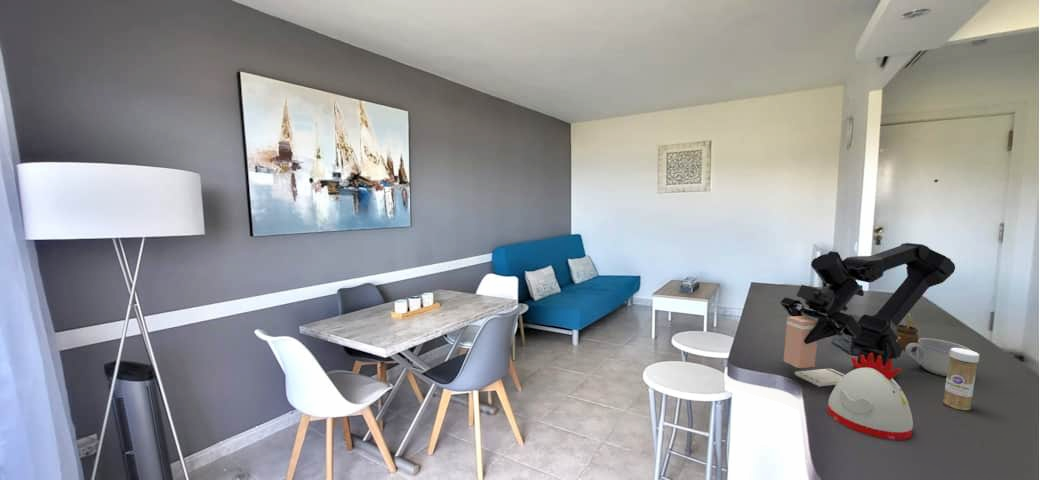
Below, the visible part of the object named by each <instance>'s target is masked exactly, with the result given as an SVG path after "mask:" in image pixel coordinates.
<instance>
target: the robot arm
mask: <svg viewBox="0 0 1040 480" xmlns="http://www.w3.org/2000/svg"><path fill="white" fill-rule="evenodd" d="M903 265H905V266H906V274H907V277H906V278H905V279H904V280H903V281H902V283H901V284H900V285H899V286H898V288H897V289H896V290H895V291H894V292H893V293H892V295H891V296H890V297H889V298H888V300H886V302H885V303H884V304H883V305H882V306H881V308H880V309H879V310H877V312H876V314H874V315H869V314H865V313H864V314H863V315H862V316H860V317H861V318H860V320H859V321H858V322H857V321H856V320H855V319H854V317H853V316H851V315H852V314H851V315H848V314H849V313H845V312H846V311H848V309H849V308H848V307H847V305H848V303H849V302H850V301H851V299H853V298H854V296H860V297H863V296H864V295H865V292H864V289H863V285H862V284H859V283H858V281H860V282H863V283H873V282H875V281H877V280H879V279H880V278H882V277H883V276H884V273H885V272H886V271H888V270H891V269H894V268H897V267H900V266H903ZM810 266H811V268H812V269H813V270H814V272H815V274H817V277H819V279H820V281H822V282H823V283H824V284H826V285H827V286H826V287H822V288H820V289H819V288H816V287H812V286H809V285H805V284H801V285H800V287H799V289H798V291H797V293H796V296H795V297H798V298H801V299H804V303H805V304H806V306H808V307H805V306H804V305H803V303H802V302H801V301H800V300H799V299H796V298H792V297H788V296H787V297H784V298H783V299H782V300H781V301H780V302H779V304H780V305H781V306H782V307H783V309H784V310H785V311H786V312H787V314H788V315H789V317H793V316H805V317H808V318H812V319H815V320H816V319H817V321H818V323H817V325H816V326H815V327H814V328H813V330H812V331H811V332H810V333H809V334H808V336H807V337H806V338H805V340H804V342H805V344H809V343H812V342H815V341H817V342H818V341H820V340H823V339H826V338H831V337H833V336H835V335H839V336H840V335H841V333H840V331H841V330H842V329H843V332H844V334H845V335H847V336H850V337H852V338H853V344H854V347H857V348H860V354H859V355H857V359H856V360H857V362H858V363H859V364H860V365H861V361H860V355H864V357H865V359H866V361H867V359H868V356H869V353H873V356H874V362H875V363H876V360H877V357H878V356H879V355H881V357H882V364H883V366H885V365H886V363H887V362H888V360H891V359H892V360H897V359H898V358H900V357H901V354H902V352H903V350H902V349H901V347H900V346H899V345H898V343H897V342H896V339H897V337H898V335H897V325H900V323H902V322H903V320H904V319H905V318H906V317H907V316H908V314H909V312H910V311H911V309H913V308H914V306H915V305H916V304H917V302H918V301H919V300H920V299H921V298H922V297H923V295H924V294H925V293H926V292H927V290H929V288H931V287H934V286H937V285H941V284H943V283H944V282H945V281H947V279H949V278H950V277H951V276H952V275H953V274H954V273H955V271H956V265H955V263H954V262H953V261H952V260H951V258H949V257H948V256H946V255H944V254H942V253H939V252H937V251H935V250H932V249H931V248H930V247H928V246H927V245H925V244H920V243H912V242H911V243H910V242H905V243H901V244H900V245H899V246H895V247H893V248H890V249H887V250H884V251H881V252H878V253H875V254H872V255H855V256H847V257H846V258H844V259H842V258H841V255H840V254H839V252H838V251H832V250H831V251H828V252H827V253H825V254H821V255H819V256H817V257H815V258H813V259H812V261H811V263H810ZM841 311H842V312H841ZM843 312H844V313H843ZM852 368H853V370H855V367H854V365H853V367H852ZM893 379H896V375H895V376H894V377H893Z"/></svg>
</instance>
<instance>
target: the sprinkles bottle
mask: <svg viewBox="0 0 1040 480" xmlns="http://www.w3.org/2000/svg"><path fill="white" fill-rule="evenodd" d="M971 350H972V349H970V350H967V349H962V348H951V349H950V354H949V356H950V362H949V368H948V374H947V376H946V379H945V386H944V395H943V399H942V402H943V404H944V405H946V406H948V407H950V408H952V409H956V410H958V411H970V410H971V409H972V406H971V405H972V399H973V398H972V397H973V396H974V395H973V394H974V389H975V388H974V387H975V381H976V374H977V373H976V372H977V367H978V366H977V365H978V364H979V362H980V353H978V352H976V351H974V350H972V351H971Z"/></svg>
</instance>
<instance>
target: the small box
mask: <svg viewBox="0 0 1040 480" xmlns="http://www.w3.org/2000/svg"><path fill="white" fill-rule="evenodd" d="M847 314H848V315H851V316H853V317H854V319H855V320H856V321H857V322H858V321H859V320H860V318H861V317H862V316H859V315H857V314H850V313H847ZM840 333H841V335H840V336H839V335H835V336H832V341H831V343H832V344H833V345H834V346H836V347H838V348H839V349H840V350H842V351H844V352H845V353H847V354H848V355H853V356H858V355H859V354H860V348H857V347H854V344H853V338H852V337H850V336H847V335H845V334H844V332H843V329H842V330H841V331H840Z"/></svg>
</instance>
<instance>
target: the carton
mask: <svg viewBox="0 0 1040 480" xmlns="http://www.w3.org/2000/svg"><path fill="white" fill-rule="evenodd" d="M817 323H818V319H817V320H816V319H815V318H812V317H809V316H808V317H805V316H793V317H792V316H787V318H786V329H785V341H784V351H783V362H785V363H787V364H789V365H790V366H793V367H795V368H798V369H803V368H812V367H813V368H815V366H816V358H817V357H816V355H817V346H818V341H815V342H812V343H809V344H805V342H804V340H805V338H806V337H807V336H808V334H809V333H810V332H811V331H812V330H813V328H814V327H815V326H816V325H817Z"/></svg>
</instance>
